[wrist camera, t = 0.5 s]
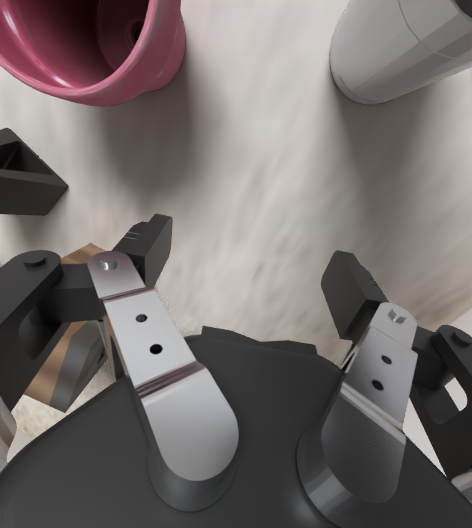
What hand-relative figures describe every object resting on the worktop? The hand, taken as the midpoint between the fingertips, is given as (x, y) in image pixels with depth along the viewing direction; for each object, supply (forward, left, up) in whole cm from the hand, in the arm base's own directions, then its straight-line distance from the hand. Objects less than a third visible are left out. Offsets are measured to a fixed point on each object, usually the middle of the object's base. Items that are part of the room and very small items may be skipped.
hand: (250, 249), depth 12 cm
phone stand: (+14, -27, -20) cm, 36 cm away
